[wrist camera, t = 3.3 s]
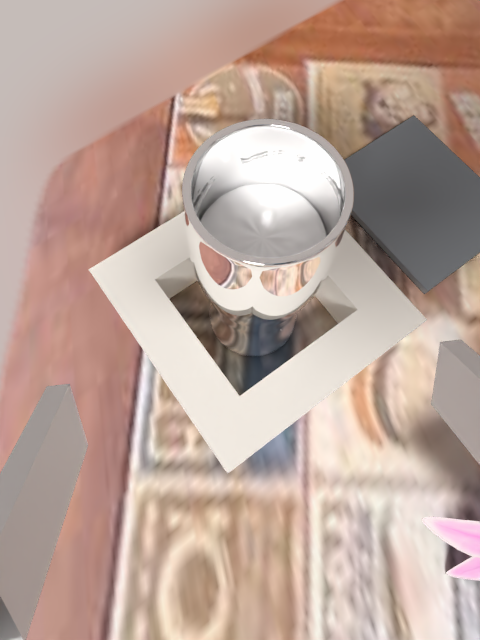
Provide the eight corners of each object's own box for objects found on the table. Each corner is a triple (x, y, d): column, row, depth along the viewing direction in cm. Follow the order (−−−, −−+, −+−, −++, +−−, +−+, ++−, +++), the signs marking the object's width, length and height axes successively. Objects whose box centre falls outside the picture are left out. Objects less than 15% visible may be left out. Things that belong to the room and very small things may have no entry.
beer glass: (196, 357, 30) (161, 259, 15) (210, 265, 32) (191, 105, 18) (298, 369, 29) (357, 281, 15) (305, 276, 32) (362, 122, 17)
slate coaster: (411, 120, 36) (413, 115, 36) (518, 223, 33) (523, 218, 33) (318, 179, 34) (320, 175, 34) (424, 294, 31) (427, 291, 31)
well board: (272, 189, 34) (277, 154, 30) (403, 337, 30) (427, 319, 26) (106, 293, 31) (88, 269, 27) (228, 471, 27) (227, 473, 23)
